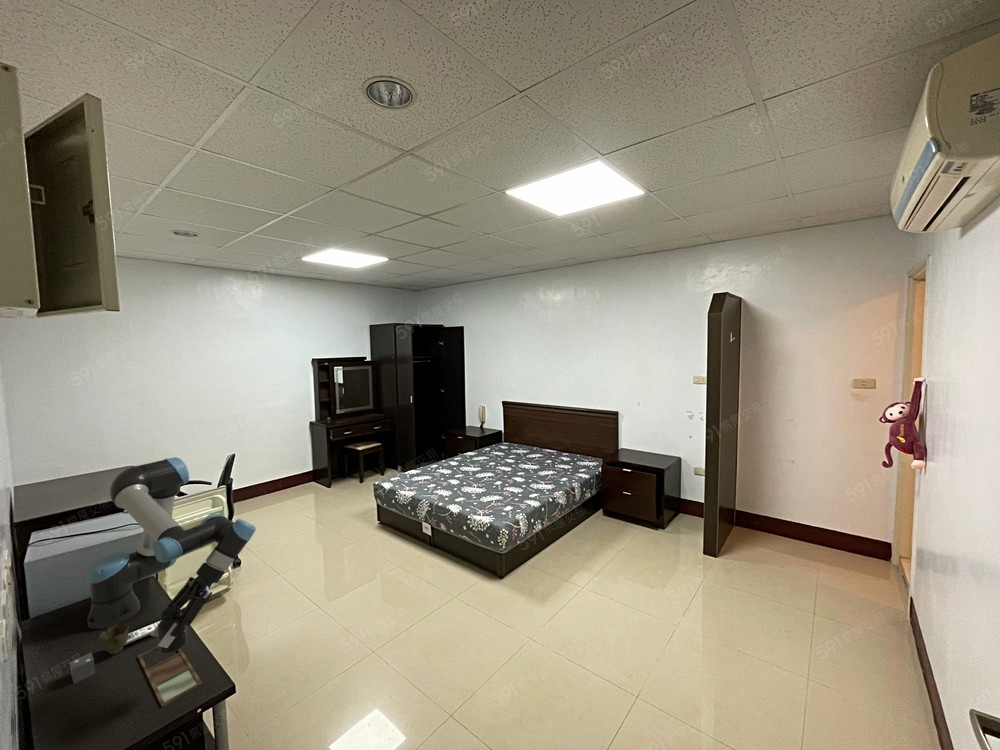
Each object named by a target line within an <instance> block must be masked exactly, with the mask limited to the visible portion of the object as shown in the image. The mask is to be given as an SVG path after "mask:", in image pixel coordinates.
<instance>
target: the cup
mask: <svg viewBox="0 0 1000 750" xmlns="http://www.w3.org/2000/svg"><path fill="white" fill-rule="evenodd" d="M129 626H130V625H129V624H128V623H124V624H122V623H119V624H117V625H114V626H111V627H108V628H107V631H102V632H101V633H100V634H99V640H100V644H101V646H102V649H103V650H104V651H105V652H108V654H109V655H117V654H119V653H121V652H122V651H123V650H124V646H125V645H126V643H127V641H128V638H129V628H130V627H129Z"/></svg>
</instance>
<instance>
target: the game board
mask: <svg viewBox="0 0 1000 750" xmlns="http://www.w3.org/2000/svg"><path fill="white" fill-rule="evenodd" d="M158 648H159V649H160V646H158V645H157V646H154V647H153V648H151V649H149V650H147V651H145V652H143V653H140V654H138V655H137V659H138V661H139V663H140V665H141V667H142V669H143V671H144V674H145V675H146V678H147V679H148V682H149V684H150V686H151V689H152V690H153V692H154V694H155V696H156V698H157V700H158V702H159V705H160V706H161V708H163V707H165V706H167V705H168V704H169V705H170V703H173V702H174V701H176V700H177V699H179V698H181V697H182V696H184V695H186V694H188V693H190V692H192V691H193V690H195V689H197V688H198V686H199V687H200V686H202V685H203V681H202V680H201V678H200V677H199V675H198V674H197V672H196V670H195V669H194V667H193V666H192V664H191V662H190V661H189V659H188V658H187V656H186V654H185V653H184V652H183V650H182V648H180V649H179V650H177V652H178V653H177V654H175V655H172V656H171V657H169V658H166V659H165V660H162V661H160V662H159V663H156V664H155V665H152V666H150V667H147V664H146V663H145V661H144V658H143V657H144V656H146V655H148V654H150V653H152V651H153V652H154V650H155V649H157V650H158ZM155 651H156V650H155Z"/></svg>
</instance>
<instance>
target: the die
mask: <svg viewBox="0 0 1000 750" xmlns="http://www.w3.org/2000/svg"><path fill="white" fill-rule="evenodd" d="M69 665H70V668H69V669H70V674H71V679H72V682H73V684H77V683H79V682H81V681H83V680H86V679H87V678H89V677H91V676H93V675H95V674H96V667H95V659H94V657H93V653H92V652H90V653H87V654H85V655H83V656H80V657H78V658H76V659H73V660H71V661H69Z"/></svg>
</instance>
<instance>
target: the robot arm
mask: <svg viewBox="0 0 1000 750" xmlns="http://www.w3.org/2000/svg"><path fill="white" fill-rule="evenodd" d="M189 472H190V471H189V469H188V467H187V465H186V463H185V461H183V459H181V458H179V457H170V458H165V459H162V460H157V461H152V462H149V463H144V464H140V465H135V466H131V467H129V468H128V467H127V468H126V469H124V470H123V471H121V472H120V473H118V475H117V476H116V477H115V478H114V480H113V481H112V483H111V486H110V488H109V489H110V490H109V496H110V499H111V502H112V503H113V504H114V505H115V506H116V507H117V508H119V509H124V510H125V511H126V512H127V514H129V515H130V516H131V518H133V520H134V521H135V522H137V523H136V524H138V525H139V526H140V527H141V528H142V529H143V530H142V536H141V537H142V539H141V540H140V541H139V542H138V544H137V545H136V549H135V551H134V552H131V553H128V552H125V551H123V552H117V553H112V554H110V555H108V556H105V557H103V558H101V559H99V560H98V561H97V562H95V563H94V564H93V565H92V566H91V567H90V569H89V571H88V583H89V590H90V598H91V606H90V610H89V613H88V617H87V619H86V621H87V622H86V623H87V627H88V628H89V629H90V630H103V629H108V628H109V627H113V626H114V625H120V624H122V623H124V622H126V621H127V620H129V619H131V618H132V617H134V616H135V615H136V614H138V612H139V611H140V609H141V602H140V599H139V598H138V597H137V595H136V593H135V592H134V590H133V584H134V583H137V582H139V581H141V580H144V579H146V578H149V577H151V576H154V575H156V574H159V573H160V572H163V571H165V570H166V569H168V568H170V567H172V566H173V565H174V564H175V563H176V562H177V559H179V558H181V557H183V556H185V555H188V554H189V553H191V552H194V551H196V550H198V549H201V548H204V547H207V546H209V545H210V544H213V543H217V545H216V546H215V547H214V548H213V550H212V551H211V552H210V553H209V555H208V556H207V558H206V559H205V561H206V562H203V563H202V564H201V565H200V567H199V568H198V569H197V571H196V572H195V573H196V575H197V576H196V577H193V576H190V577H189V578H188V580H187V581H186V583H185V584H184V585H183V586H182V587H181V589H180V590H179V591H178V592H177V594H176V595H175V596H174V597H173V598H172V600H171V601H170V602H169V603H168V605H166V608H169V607H171V606H176V605H177V606H180V608H181V609H183V607H184V606H185V605H186V604H187V605H186V606H185V607H184V609H183V611H182V612H181V613H182V615H181V617H180V618H179V620H178V621H175V623H174V624H173V626H172V627H171V628H170V630H169V631H168V632H167V634H166V635H165V636H164V638H163V639H162V640H161V642H160V643H158V644H157V646H160V647H164V648H168V646H169V645H170V644H171V642H172V641H173V640H174V638H175V637H176V636H177V634H178V633H179V632H180V630H181V629H182V628H183V626H185V625H186V626H190V625H192V623H193V622H194V620H195V619H196V617H197V616H198V614H199V613H200V611H201V610H202V608H203V607H204V605H205V603H206V602H207V601H208V599H209V598H210V597H211V596H212V595H213V592H212V591H210V589H211V587H212V585H213V584H214V583H215V584H217V583H219V582H220V580H221V579H222V577H223V576H224V575H225V571H227V570H228V569H229V568H230V566H231V565H232V564H233V563H234V561H235V560H236V558H237V557H238V556H239V554H240V553H241V552H242V550H243V549H244V548H245V546H246V545H247V543H248V542H249V541H250V540H251V538H252V537H253V535H254V534H255V533H256V529H257V528H256V526H254V525H253V524H251V523H249V522H248V521H246V520H243V519H241V518H237V519H236V520H235V521H234V522H233V521H232V520H230V519H229V518H227V517H226V516H225V515H224V516H223V515H221V514H219V513H218V514H217V513H212V514H209V515H207V517H205V518H203V520H202V521H201V522H200V524H198V525H195V526H193V527H190V528H187V529H184V527H183V526H181V525H180V524H179V523H178V522H177V521H176V520H175V518H173V510H174V503H175V497H176V496H177V495H178V494H179V493H180V492H181V486H182V485H185V484H187V483H188V482H189V481H190V474H189ZM150 636H152V637H155V638H159V634H158V624H157V626H156V627H155V628H154V629H153V630H152V632H151V633H150Z"/></svg>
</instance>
